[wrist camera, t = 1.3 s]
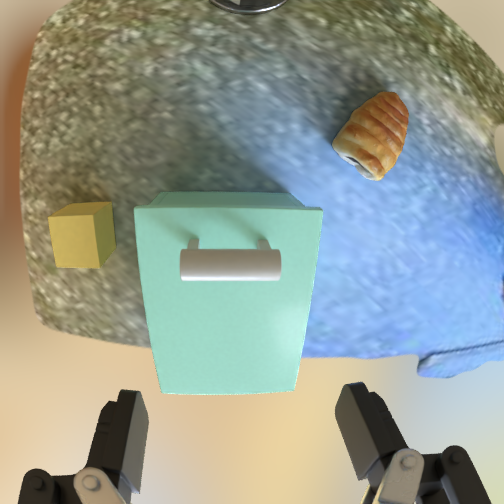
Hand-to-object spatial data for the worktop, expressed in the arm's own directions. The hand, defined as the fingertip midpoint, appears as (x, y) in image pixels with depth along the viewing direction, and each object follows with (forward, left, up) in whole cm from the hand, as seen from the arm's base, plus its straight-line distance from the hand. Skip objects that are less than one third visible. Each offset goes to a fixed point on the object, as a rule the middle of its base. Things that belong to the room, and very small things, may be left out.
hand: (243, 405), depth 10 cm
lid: (+4, 0, -12) cm, 13 cm away
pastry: (-11, +14, -21) cm, 27 cm away
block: (-1, -14, -21) cm, 25 cm away
